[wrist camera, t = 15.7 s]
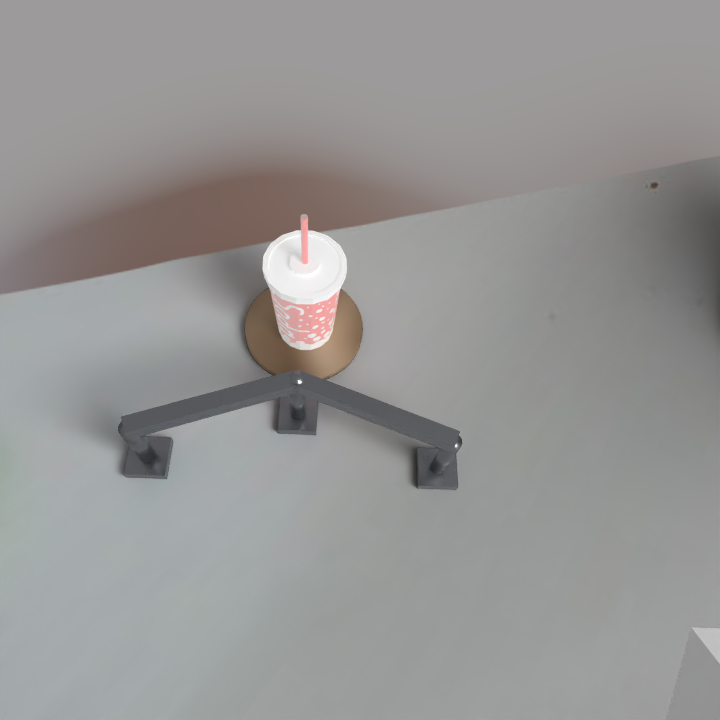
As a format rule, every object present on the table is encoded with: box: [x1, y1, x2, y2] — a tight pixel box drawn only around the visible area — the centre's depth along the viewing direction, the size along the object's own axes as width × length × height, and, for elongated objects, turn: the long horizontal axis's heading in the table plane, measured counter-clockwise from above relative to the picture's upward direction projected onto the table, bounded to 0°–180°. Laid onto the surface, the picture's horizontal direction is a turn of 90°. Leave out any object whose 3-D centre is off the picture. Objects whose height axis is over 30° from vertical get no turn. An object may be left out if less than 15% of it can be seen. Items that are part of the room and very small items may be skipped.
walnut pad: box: [245, 288, 363, 380], centre depth 52 cm, size 10×10×1 cm
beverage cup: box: [263, 214, 347, 350], centre depth 46 cm, size 6×6×14 cm
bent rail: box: [118, 370, 462, 490], centre depth 45 cm, size 25×7×7 cm, turn 89°
